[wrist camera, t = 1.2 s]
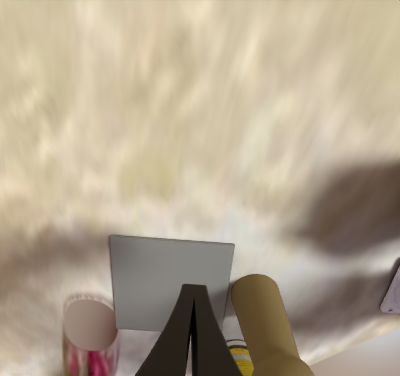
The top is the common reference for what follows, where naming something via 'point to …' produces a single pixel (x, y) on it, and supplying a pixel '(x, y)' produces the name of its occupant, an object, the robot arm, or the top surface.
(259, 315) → the cork
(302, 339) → the top surface
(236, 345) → the supplement bottle
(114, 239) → the mat
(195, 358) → the robot arm
